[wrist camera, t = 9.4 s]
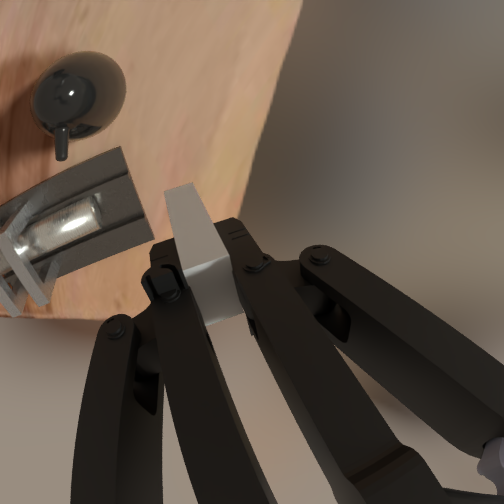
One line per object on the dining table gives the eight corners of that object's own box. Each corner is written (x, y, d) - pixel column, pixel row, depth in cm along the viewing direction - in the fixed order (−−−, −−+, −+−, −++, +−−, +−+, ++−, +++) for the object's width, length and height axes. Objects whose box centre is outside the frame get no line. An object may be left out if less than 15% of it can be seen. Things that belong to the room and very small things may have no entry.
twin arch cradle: (-23, 221, 28) (-49, 253, 21) (120, 145, 32) (114, 163, 25) (19, 291, 36) (6, 330, 29) (154, 235, 41) (159, 271, 34)
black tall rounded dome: (53, 141, 28) (6, 176, 16) (52, 63, 23) (0, 54, 11) (128, 129, 32) (118, 156, 20) (129, 50, 26) (120, 26, 14)
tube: (10, 271, 32) (-4, 278, 28) (0, 243, 31) (-15, 248, 27) (105, 227, 35) (96, 230, 31) (95, 195, 34) (85, 195, 30)
